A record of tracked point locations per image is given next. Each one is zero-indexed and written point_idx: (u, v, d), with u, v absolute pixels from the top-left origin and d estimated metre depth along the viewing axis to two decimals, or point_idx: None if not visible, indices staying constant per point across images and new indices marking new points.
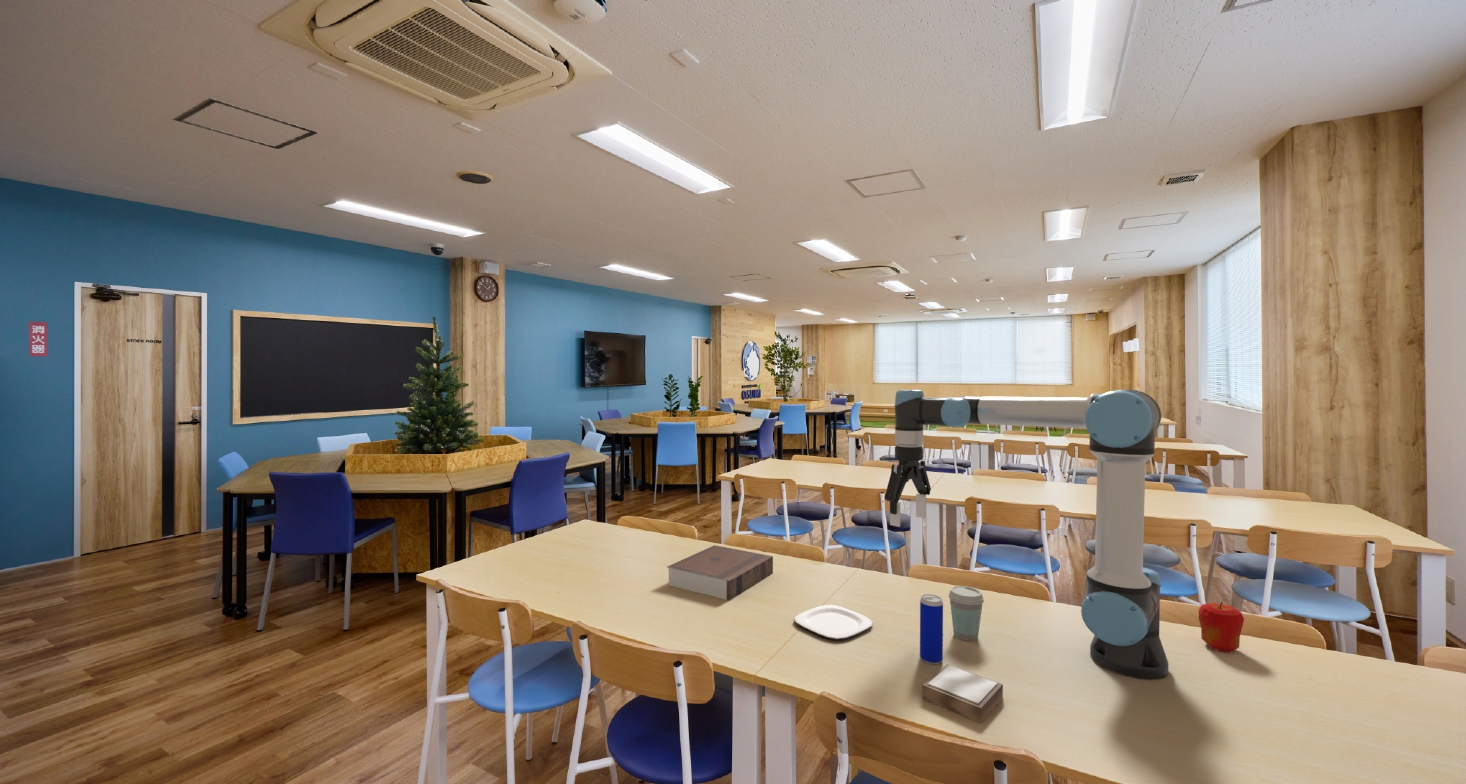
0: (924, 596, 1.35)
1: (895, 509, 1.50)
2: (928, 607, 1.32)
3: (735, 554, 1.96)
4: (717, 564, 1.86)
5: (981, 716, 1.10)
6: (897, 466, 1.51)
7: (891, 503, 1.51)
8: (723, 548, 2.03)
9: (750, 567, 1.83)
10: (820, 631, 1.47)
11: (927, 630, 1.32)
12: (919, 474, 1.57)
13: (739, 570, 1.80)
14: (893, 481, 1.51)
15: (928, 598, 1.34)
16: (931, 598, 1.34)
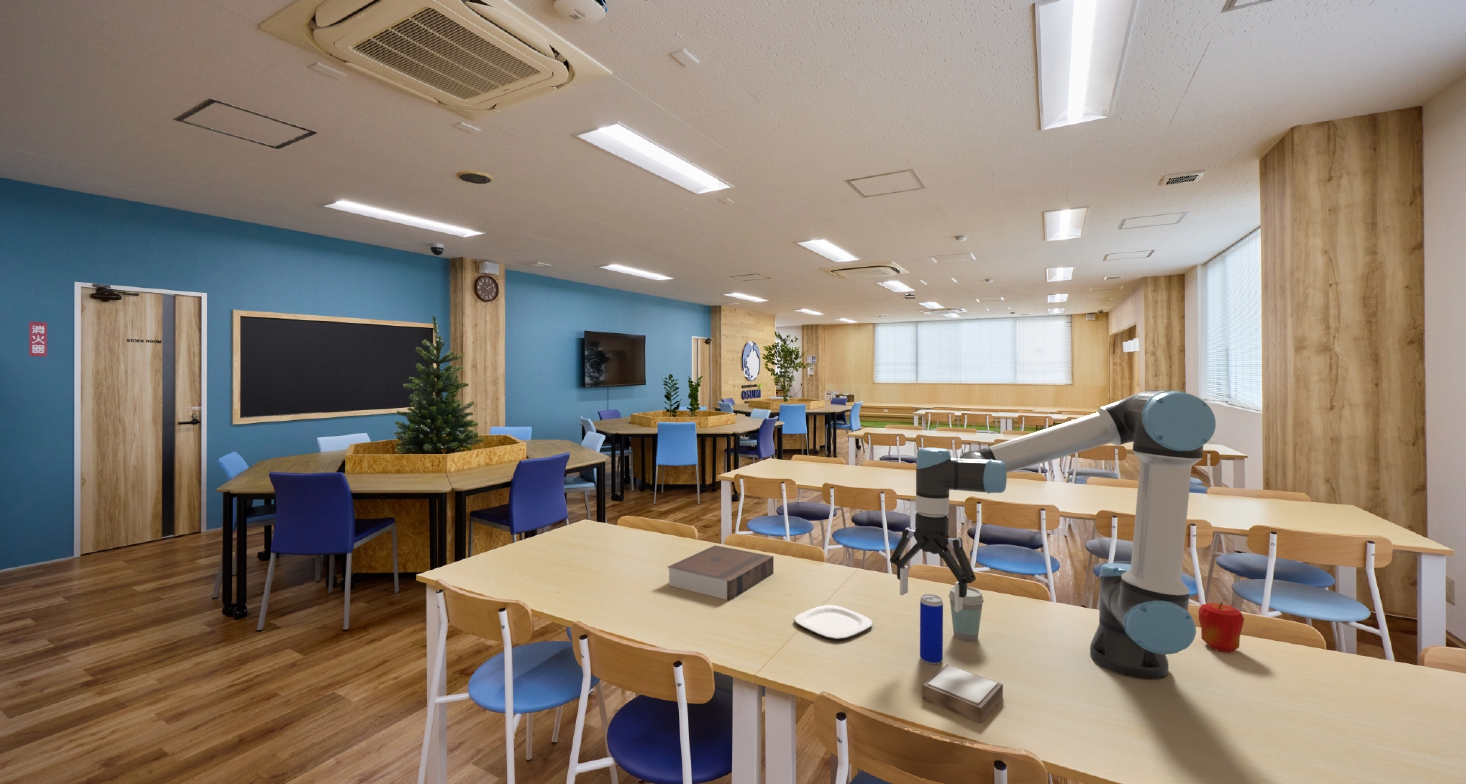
0: (924, 596, 1.35)
1: (898, 574, 1.39)
2: (928, 607, 1.32)
3: (736, 554, 1.96)
4: (717, 564, 1.86)
5: (981, 716, 1.10)
6: None
7: None
8: (723, 549, 2.03)
9: (751, 567, 1.82)
10: (820, 631, 1.47)
11: (927, 630, 1.32)
12: (939, 551, 1.31)
13: (740, 570, 1.80)
14: None
15: (928, 598, 1.34)
16: (931, 598, 1.34)
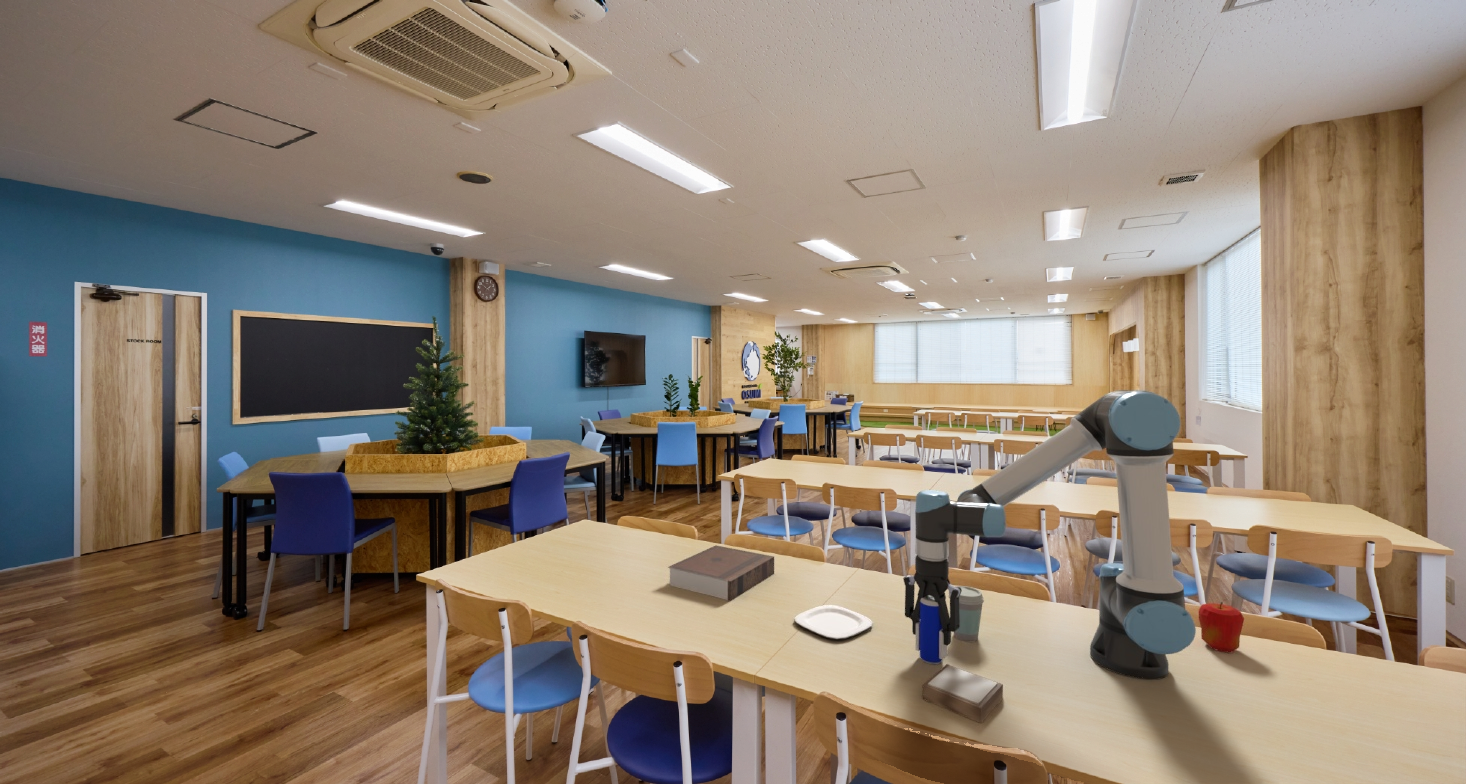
0: None
1: (914, 629, 1.36)
2: (928, 607, 1.32)
3: (737, 555, 1.96)
4: (718, 564, 1.86)
5: (981, 716, 1.10)
6: None
7: None
8: (724, 549, 2.02)
9: (751, 567, 1.82)
10: (820, 631, 1.47)
11: (927, 630, 1.32)
12: (936, 596, 1.31)
13: (740, 570, 1.80)
14: None
15: (928, 598, 1.34)
16: (931, 598, 1.34)
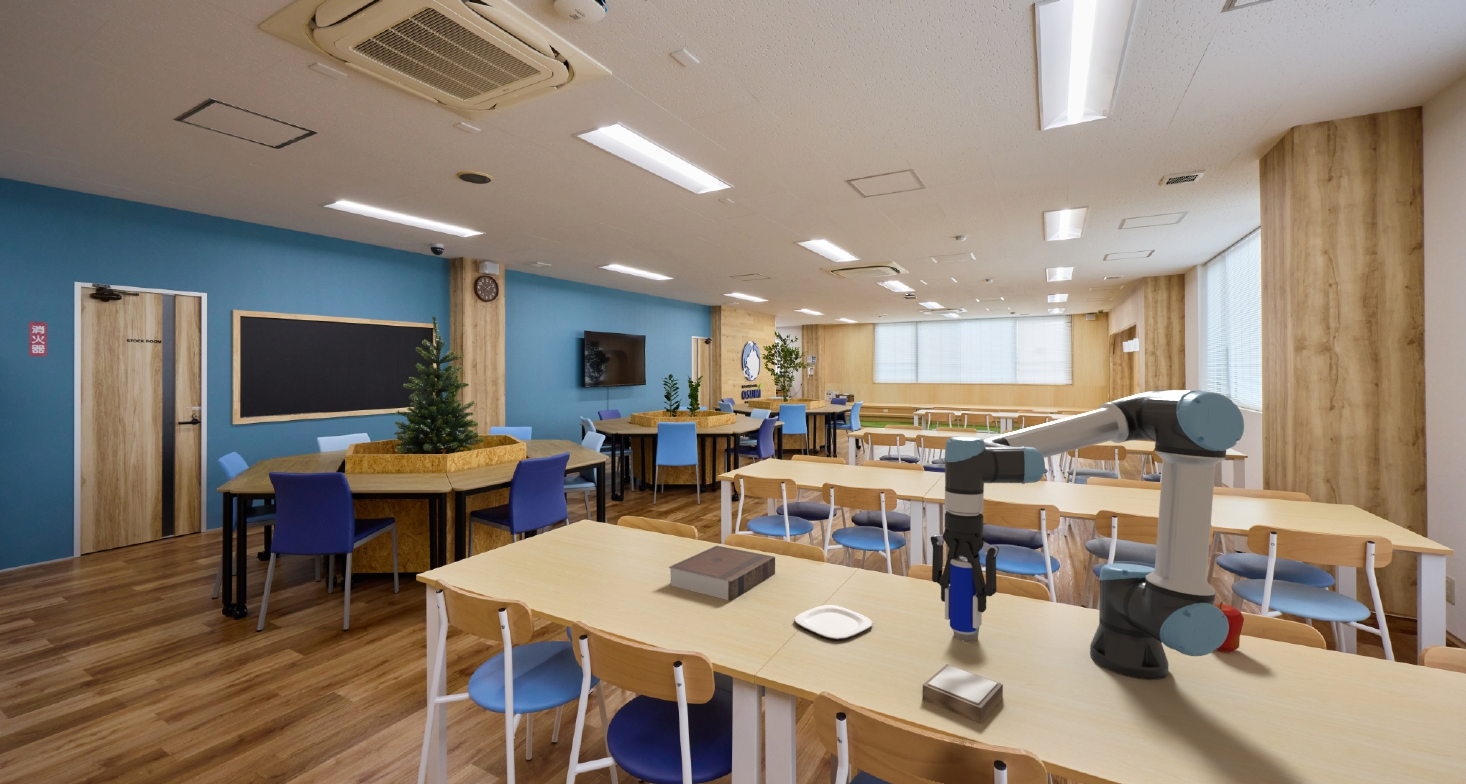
0: None
1: (943, 595, 1.20)
2: (960, 569, 1.15)
3: (737, 555, 1.95)
4: (719, 564, 1.85)
5: (981, 716, 1.10)
6: None
7: None
8: (725, 549, 2.02)
9: (752, 568, 1.82)
10: (820, 631, 1.47)
11: (959, 595, 1.16)
12: (969, 556, 1.15)
13: (741, 570, 1.80)
14: None
15: (959, 559, 1.18)
16: (963, 559, 1.18)
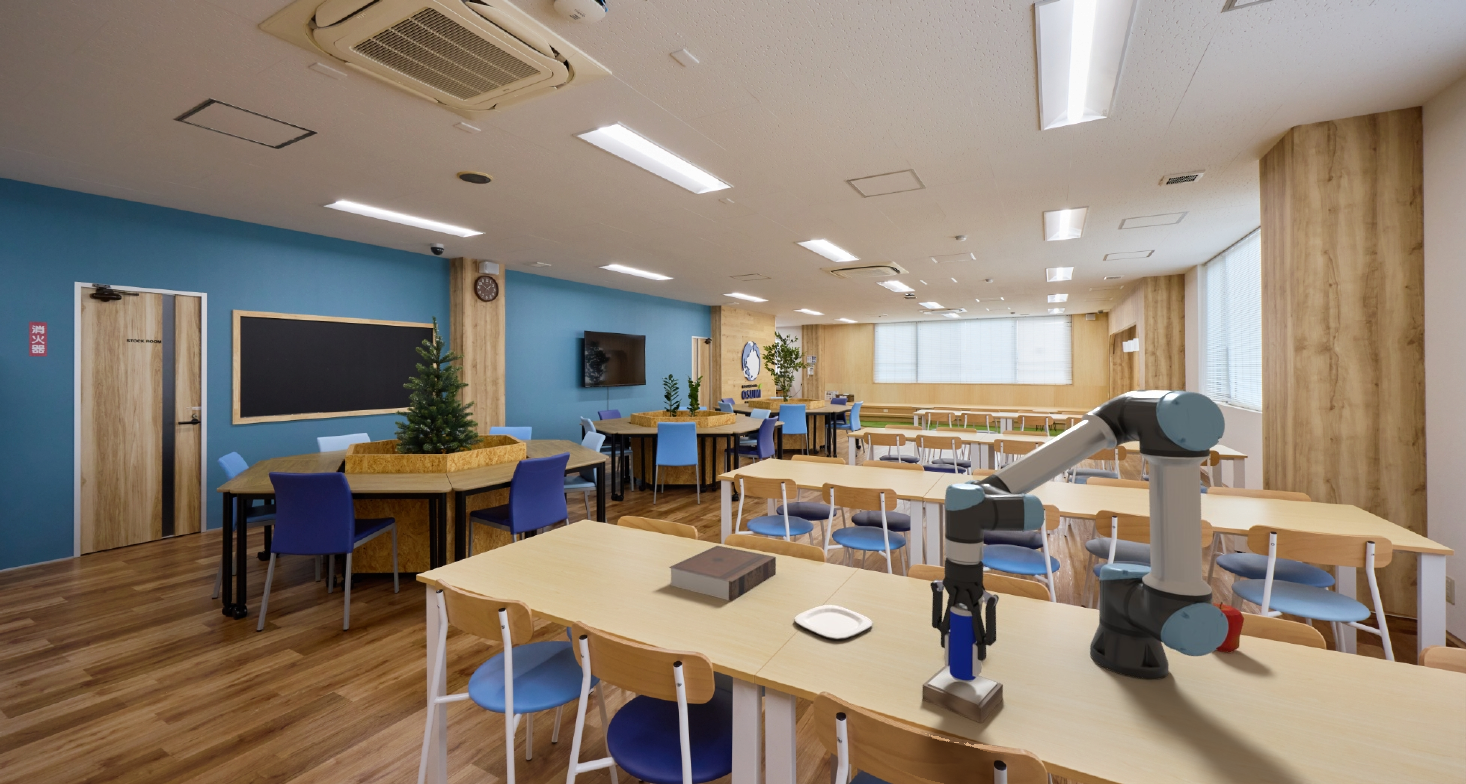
0: None
1: (943, 641, 1.20)
2: (960, 617, 1.16)
3: (738, 555, 1.95)
4: (719, 564, 1.85)
5: (981, 716, 1.10)
6: None
7: None
8: (726, 549, 2.02)
9: (753, 568, 1.82)
10: (820, 631, 1.47)
11: (959, 643, 1.16)
12: (969, 605, 1.15)
13: (742, 570, 1.80)
14: None
15: (959, 607, 1.18)
16: (963, 607, 1.18)
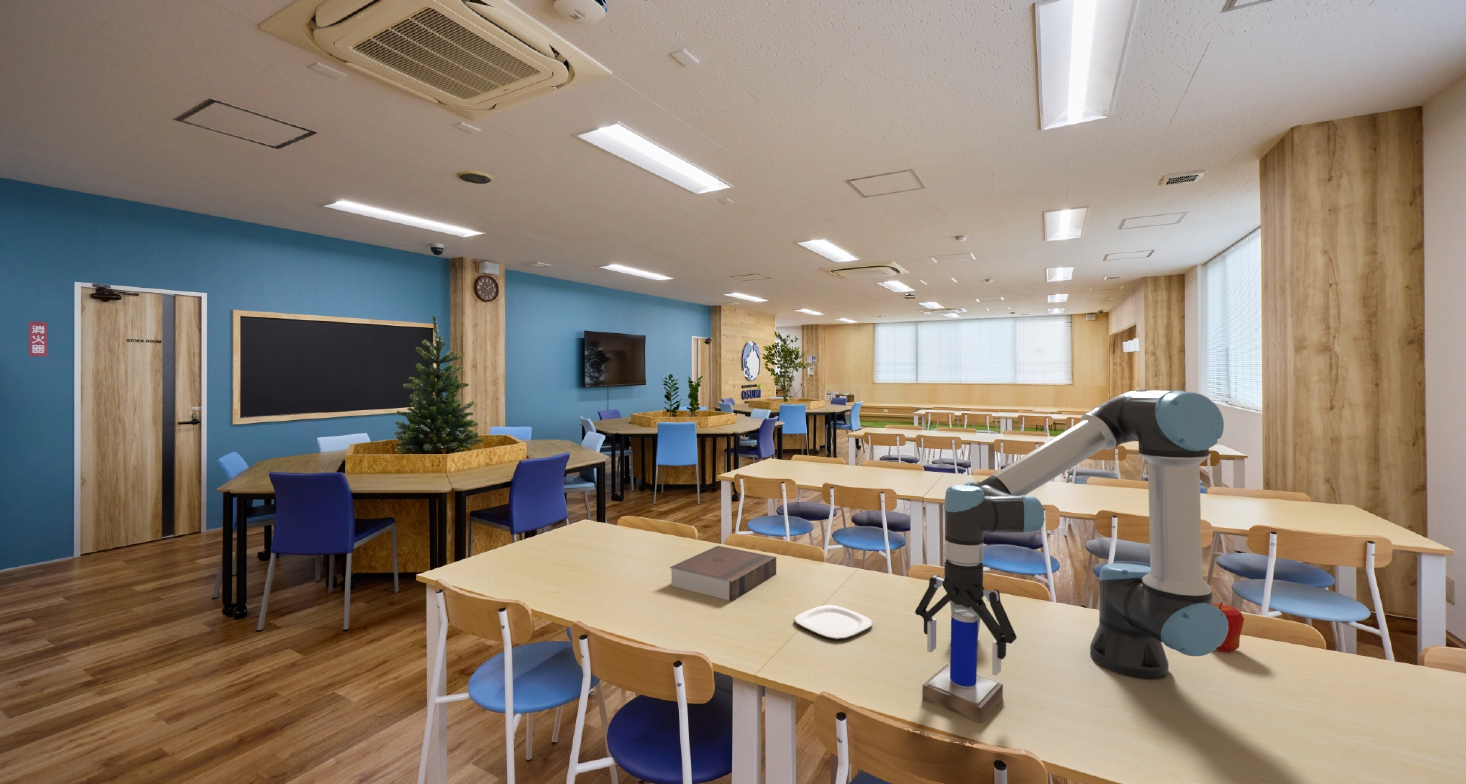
0: (956, 610, 1.19)
1: (925, 628, 1.23)
2: (961, 623, 1.16)
3: (739, 555, 1.95)
4: (720, 564, 1.85)
5: (981, 716, 1.10)
6: None
7: None
8: (726, 549, 2.02)
9: (753, 568, 1.82)
10: (820, 631, 1.47)
11: (960, 649, 1.16)
12: (973, 605, 1.14)
13: (742, 570, 1.80)
14: None
15: (961, 613, 1.18)
16: (964, 613, 1.18)
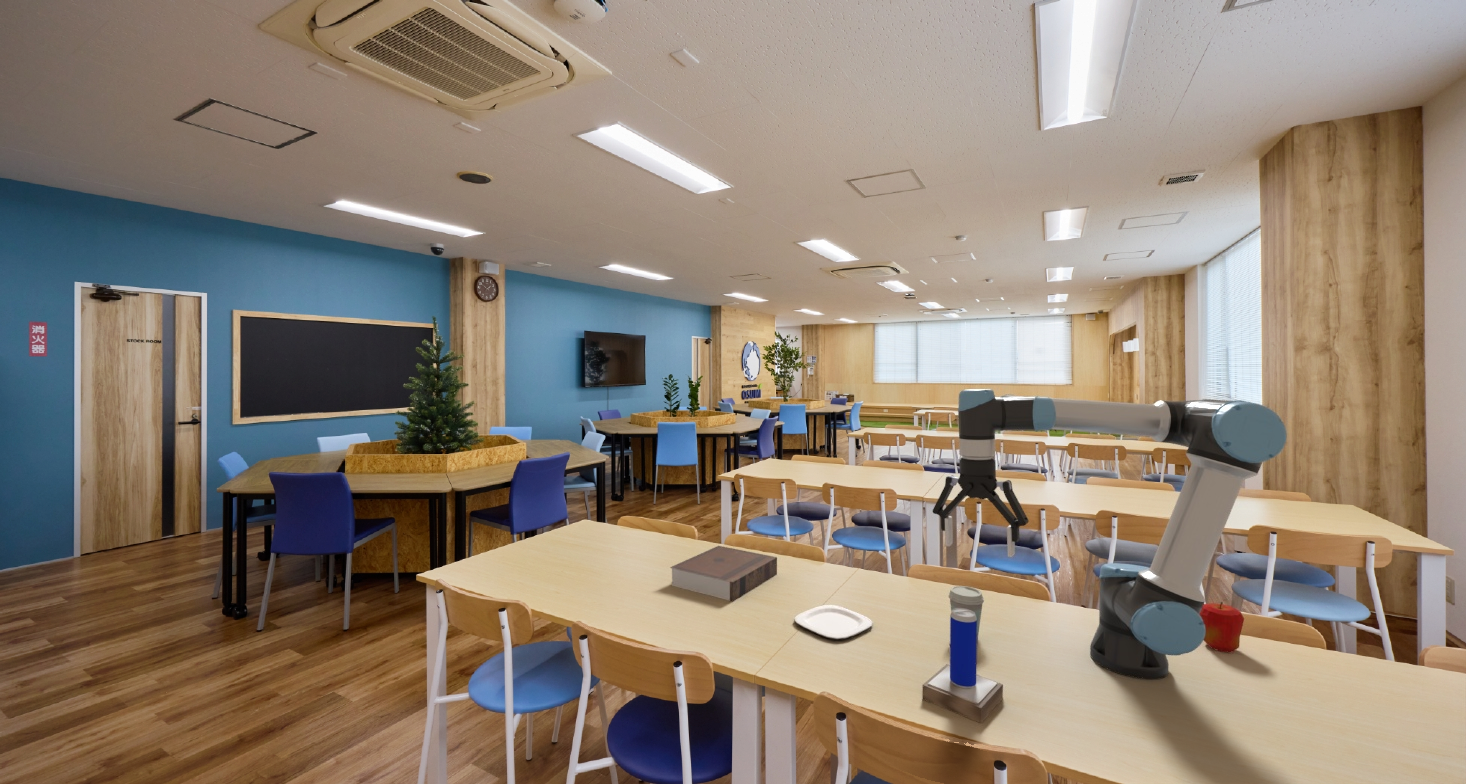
0: (955, 610, 1.19)
1: (943, 525, 1.32)
2: (960, 623, 1.16)
3: (739, 555, 1.95)
4: (720, 565, 1.85)
5: (981, 716, 1.10)
6: (947, 477, 1.31)
7: None
8: (727, 549, 2.02)
9: (754, 568, 1.82)
10: (820, 631, 1.47)
11: (959, 649, 1.16)
12: (988, 496, 1.24)
13: (743, 571, 1.79)
14: None
15: (959, 613, 1.18)
16: (963, 613, 1.18)
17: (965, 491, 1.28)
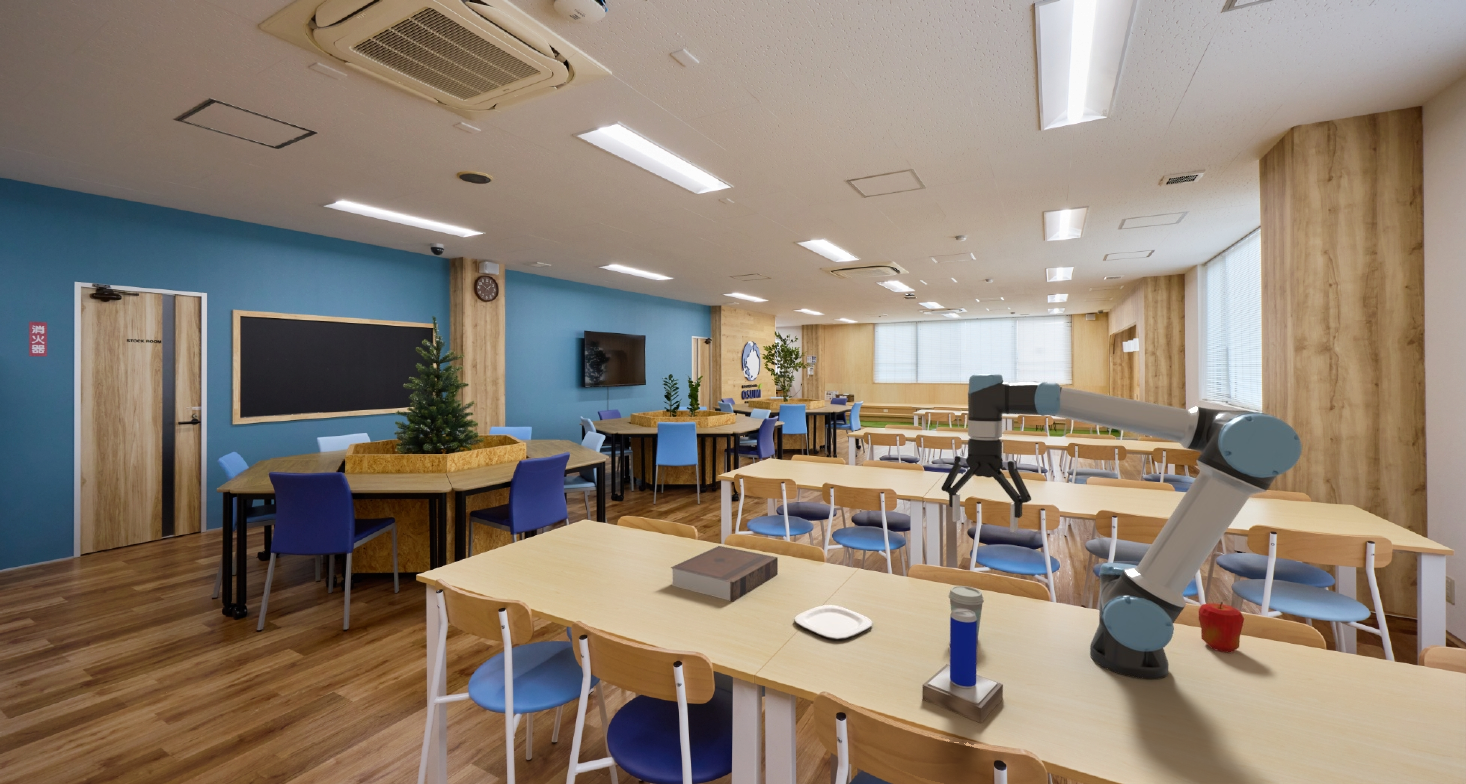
0: (955, 610, 1.19)
1: (951, 501, 1.41)
2: (960, 623, 1.16)
3: (740, 555, 1.95)
4: (721, 565, 1.85)
5: (981, 716, 1.10)
6: None
7: None
8: (727, 549, 2.02)
9: (754, 568, 1.82)
10: (820, 631, 1.47)
11: (959, 649, 1.16)
12: (994, 474, 1.32)
13: (743, 571, 1.79)
14: None
15: (959, 613, 1.18)
16: (963, 613, 1.18)
17: (972, 470, 1.36)
